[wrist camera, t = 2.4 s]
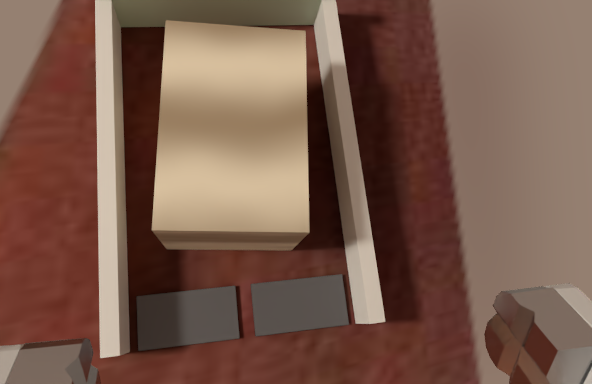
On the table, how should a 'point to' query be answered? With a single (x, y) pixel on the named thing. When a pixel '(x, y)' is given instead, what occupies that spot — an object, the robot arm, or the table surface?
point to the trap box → (222, 301)
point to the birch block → (232, 139)
